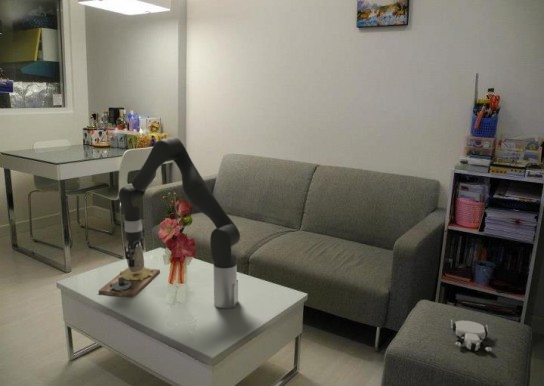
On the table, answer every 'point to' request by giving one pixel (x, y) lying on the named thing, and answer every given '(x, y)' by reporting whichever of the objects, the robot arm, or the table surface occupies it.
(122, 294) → the gear board
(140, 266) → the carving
